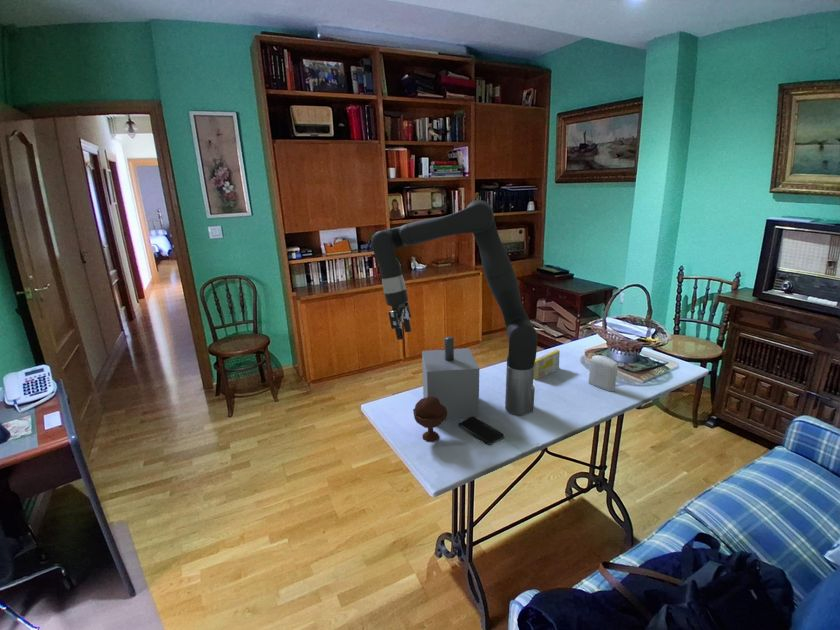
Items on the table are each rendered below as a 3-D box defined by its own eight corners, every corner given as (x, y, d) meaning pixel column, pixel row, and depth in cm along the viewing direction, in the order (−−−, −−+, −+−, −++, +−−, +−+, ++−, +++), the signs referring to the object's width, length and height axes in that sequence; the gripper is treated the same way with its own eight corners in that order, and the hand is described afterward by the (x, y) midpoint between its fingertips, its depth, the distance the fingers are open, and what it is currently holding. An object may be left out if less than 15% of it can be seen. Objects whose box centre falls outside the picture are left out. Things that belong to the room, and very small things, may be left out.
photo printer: (617, 389, 168) (620, 359, 164) (611, 392, 165) (614, 363, 161) (592, 380, 175) (595, 351, 171) (586, 383, 173) (589, 354, 169)
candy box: (555, 367, 188) (556, 349, 185) (559, 368, 186) (560, 350, 183) (531, 378, 178) (532, 360, 176) (535, 380, 177) (536, 361, 174)
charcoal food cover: (468, 393, 168) (469, 327, 159) (478, 417, 151) (479, 346, 143) (423, 396, 167) (421, 330, 158) (428, 421, 150) (426, 349, 141)
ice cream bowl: (453, 432, 143) (452, 391, 138) (436, 450, 134) (436, 407, 129) (425, 424, 148) (423, 384, 144) (407, 441, 139) (405, 399, 135)
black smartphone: (488, 444, 135) (456, 423, 147) (488, 447, 136) (456, 426, 147) (506, 434, 140) (473, 415, 151) (506, 437, 140) (473, 418, 151)
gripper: (398, 292, 139) (408, 340, 142) (411, 284, 152) (420, 328, 155) (376, 295, 141) (387, 343, 144) (391, 287, 154) (401, 330, 158)
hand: (404, 335), depth 150 cm, fingers open, 8 cm apart
